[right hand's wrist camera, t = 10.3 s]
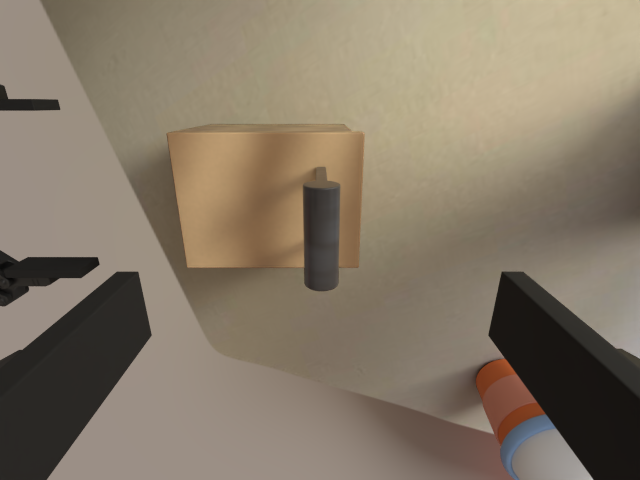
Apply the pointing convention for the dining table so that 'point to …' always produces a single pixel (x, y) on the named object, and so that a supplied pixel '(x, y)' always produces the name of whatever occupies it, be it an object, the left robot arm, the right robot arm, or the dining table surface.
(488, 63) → the dining table surface
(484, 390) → the cup with straw
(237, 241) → the lid
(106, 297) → the right robot arm
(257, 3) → the dining table surface
